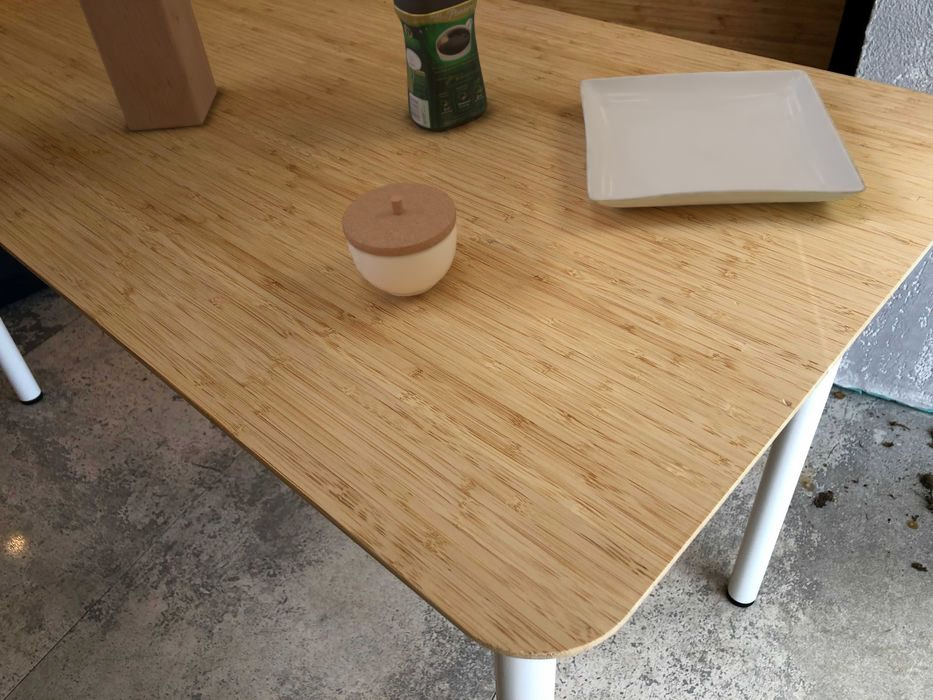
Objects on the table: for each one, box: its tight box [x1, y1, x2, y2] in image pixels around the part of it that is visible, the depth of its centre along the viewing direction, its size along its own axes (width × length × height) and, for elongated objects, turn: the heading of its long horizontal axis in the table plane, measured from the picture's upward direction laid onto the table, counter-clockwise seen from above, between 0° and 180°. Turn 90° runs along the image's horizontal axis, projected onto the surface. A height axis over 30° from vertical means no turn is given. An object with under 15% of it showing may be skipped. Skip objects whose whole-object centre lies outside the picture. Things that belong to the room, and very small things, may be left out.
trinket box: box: [341, 182, 458, 297], centre depth 81 cm, size 11×11×9 cm
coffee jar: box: [392, 0, 488, 132], centre depth 102 cm, size 10×8×19 cm
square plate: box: [579, 69, 867, 208], centre depth 95 cm, size 27×27×4 cm
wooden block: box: [78, 0, 218, 132], centre depth 109 cm, size 10×10×20 cm
